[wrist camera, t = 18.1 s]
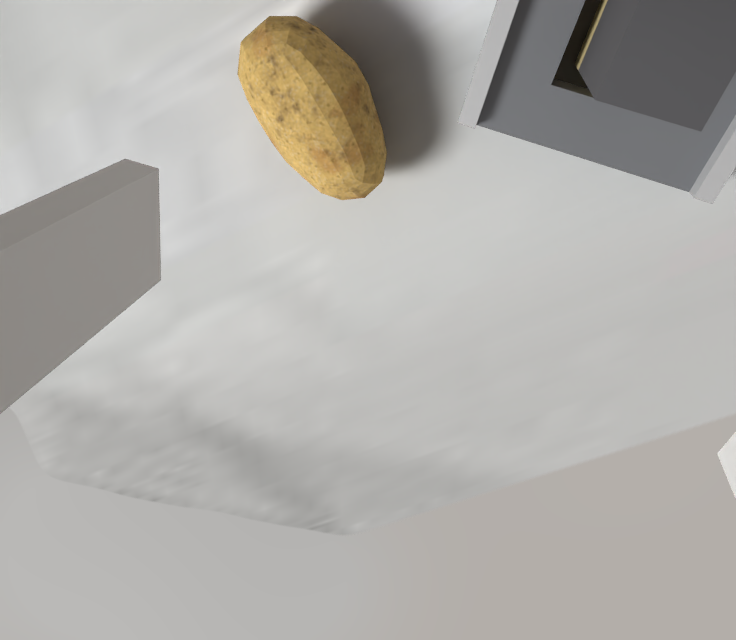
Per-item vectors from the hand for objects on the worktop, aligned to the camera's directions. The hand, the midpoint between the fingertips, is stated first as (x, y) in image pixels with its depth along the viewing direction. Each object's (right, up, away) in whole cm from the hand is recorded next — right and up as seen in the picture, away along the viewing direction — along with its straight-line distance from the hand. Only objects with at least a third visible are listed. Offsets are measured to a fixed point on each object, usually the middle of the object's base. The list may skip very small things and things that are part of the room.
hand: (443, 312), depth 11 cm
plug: (+12, +15, +17) cm, 26 cm away
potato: (-4, +14, +23) cm, 27 cm away
